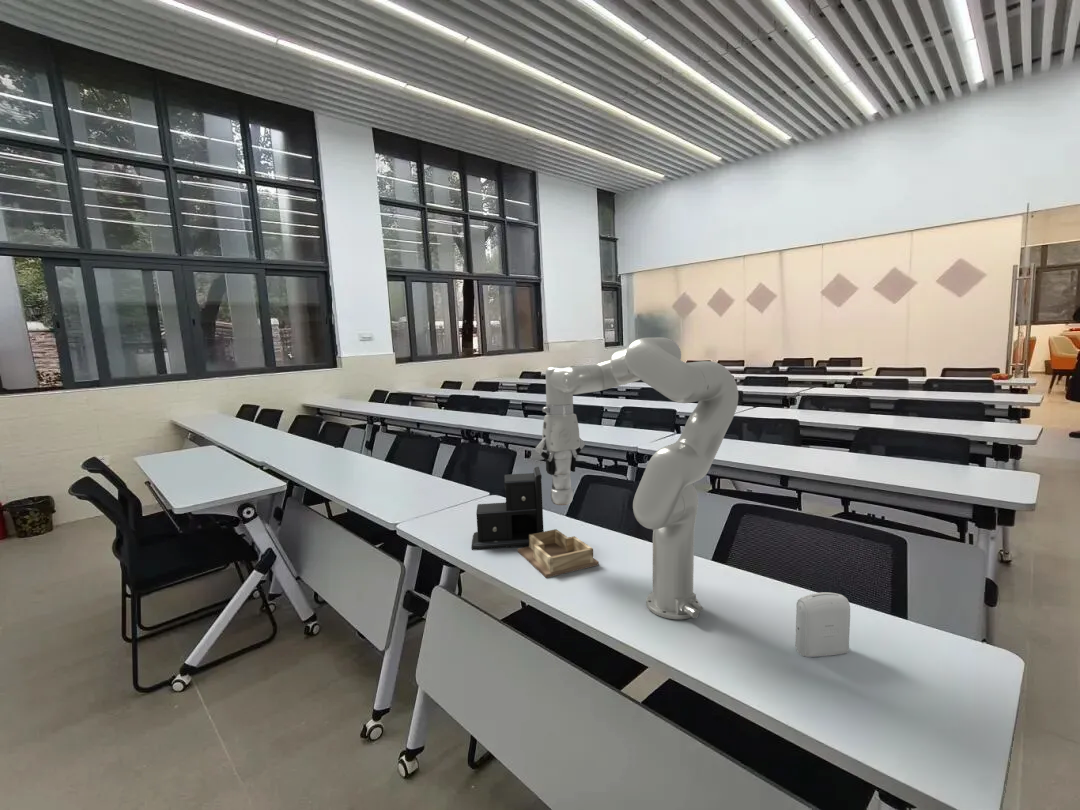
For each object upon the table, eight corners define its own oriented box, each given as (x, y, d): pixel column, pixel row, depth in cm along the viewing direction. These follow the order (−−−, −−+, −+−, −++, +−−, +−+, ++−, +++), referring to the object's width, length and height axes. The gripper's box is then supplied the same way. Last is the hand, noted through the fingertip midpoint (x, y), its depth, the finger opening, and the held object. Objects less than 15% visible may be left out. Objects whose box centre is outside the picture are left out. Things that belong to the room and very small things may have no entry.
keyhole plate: (598, 564, 146) (598, 548, 145) (546, 577, 139) (545, 560, 138) (565, 541, 164) (565, 526, 163) (517, 551, 156) (517, 536, 156)
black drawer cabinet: (470, 550, 159) (467, 477, 156) (472, 537, 169) (469, 469, 167) (544, 546, 160) (542, 474, 158) (541, 533, 171) (540, 466, 168)
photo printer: (804, 659, 101) (806, 601, 99) (791, 647, 105) (793, 590, 103) (852, 655, 102) (855, 597, 100) (837, 642, 106) (840, 587, 104)
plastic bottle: (571, 500, 149) (570, 433, 146) (574, 507, 142) (573, 437, 140) (550, 501, 148) (548, 434, 146) (551, 508, 142) (549, 438, 139)
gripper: (537, 414, 135) (539, 479, 137) (593, 409, 142) (593, 471, 144) (526, 411, 141) (528, 473, 144) (579, 406, 149) (580, 465, 151)
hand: (561, 471), depth 144 cm, fingers closed on plastic bottle, 6 cm apart
